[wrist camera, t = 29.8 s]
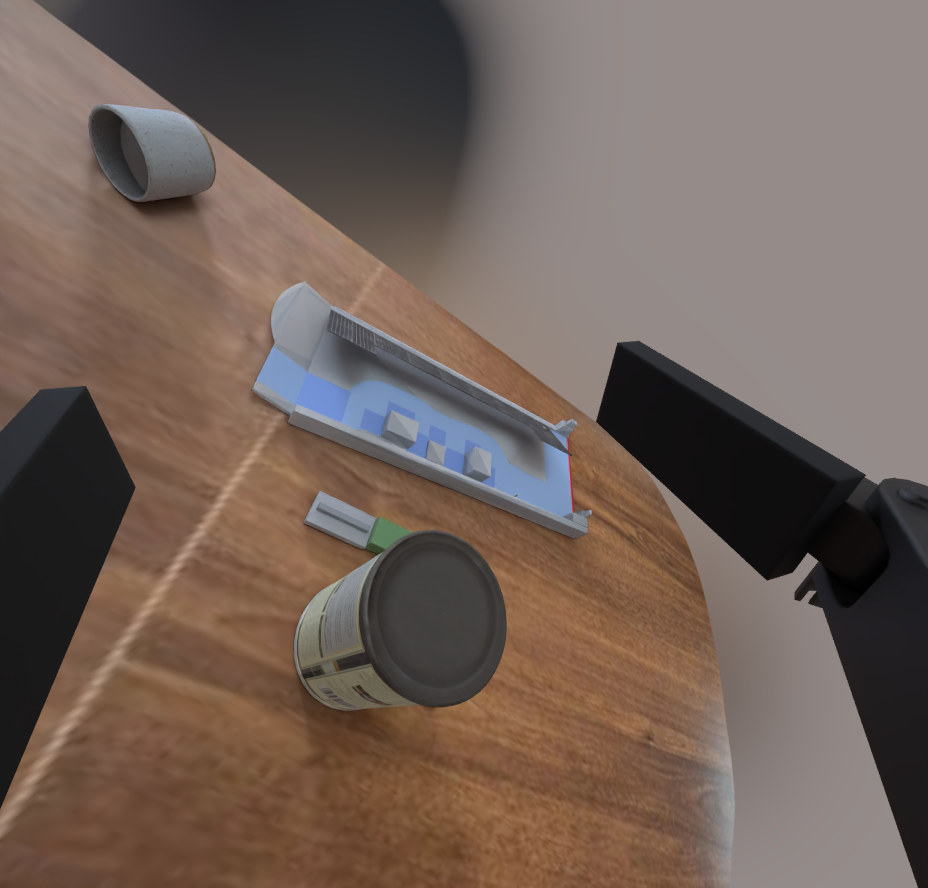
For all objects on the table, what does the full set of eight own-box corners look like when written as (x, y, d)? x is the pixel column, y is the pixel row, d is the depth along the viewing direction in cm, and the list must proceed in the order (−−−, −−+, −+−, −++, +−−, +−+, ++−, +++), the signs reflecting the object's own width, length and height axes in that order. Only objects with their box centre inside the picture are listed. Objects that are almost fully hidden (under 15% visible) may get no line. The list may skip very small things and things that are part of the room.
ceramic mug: (216, 207, 49) (227, 143, 44) (147, 220, 43) (150, 148, 38) (143, 135, 48) (145, 60, 43) (62, 139, 42) (53, 53, 37)
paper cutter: (574, 538, 59) (606, 526, 55) (225, 397, 40) (237, 363, 36) (566, 432, 69) (593, 415, 65) (288, 281, 50) (302, 244, 46)
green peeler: (455, 560, 46) (465, 555, 45) (449, 589, 44) (459, 585, 43) (317, 493, 41) (323, 486, 39) (302, 523, 39) (309, 516, 37)
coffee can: (410, 583, 42) (500, 541, 32) (407, 707, 37) (515, 703, 27) (302, 571, 37) (371, 516, 27) (281, 714, 31) (356, 712, 22)
